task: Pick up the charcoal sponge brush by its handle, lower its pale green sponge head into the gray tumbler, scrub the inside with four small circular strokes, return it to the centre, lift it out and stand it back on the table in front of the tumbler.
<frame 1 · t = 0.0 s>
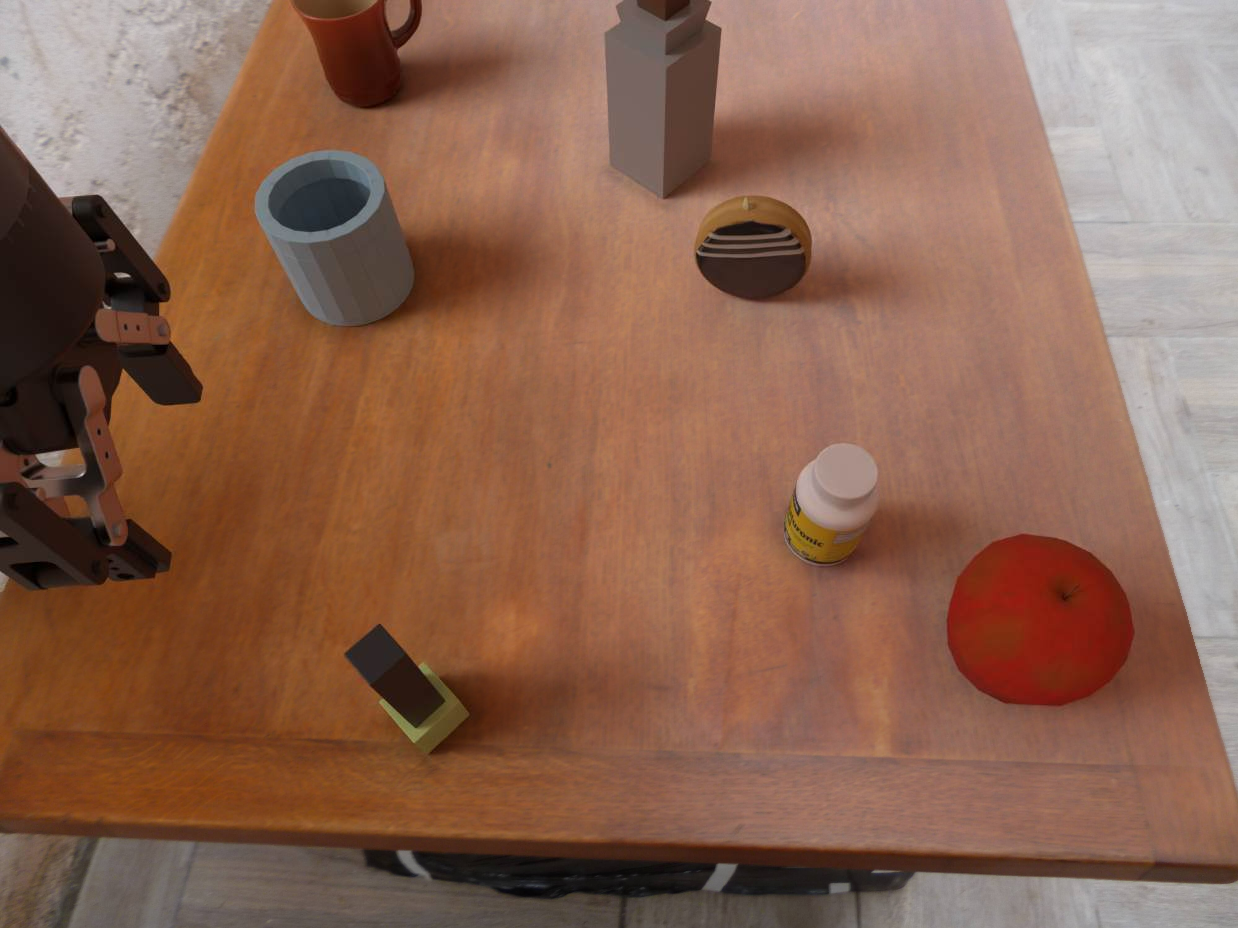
hand: (166, 478, 38), 24 cm above the table, tool pointing down, fingers open, 8 cm apart
mug: (383, 84, 88), on the table
supplement bottle: (818, 535, 62), on the table
perfume bottle: (660, 164, 81), on the table
doughnut: (746, 289, 73), on the table
brush: (431, 714, 56), on the table
gray tumbler: (357, 281, 75), on the table
apple: (1001, 648, 57), on the table
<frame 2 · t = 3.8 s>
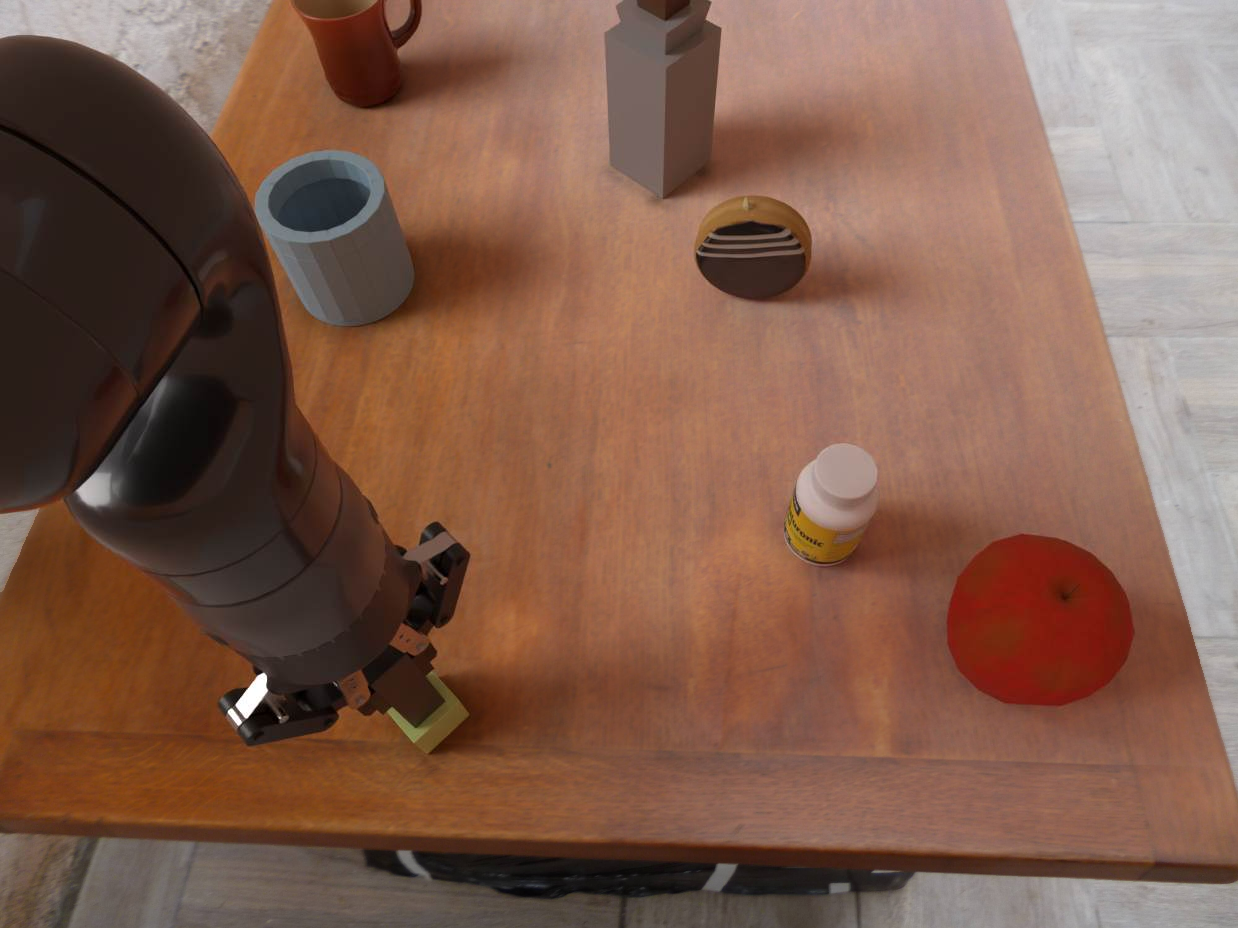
hand: (398, 679, 48), 9 cm above the table, tool pointing down, fingers closed on brush, 2 cm apart
brush: (431, 714, 56), on the table, touching gripper
everything else where it was.
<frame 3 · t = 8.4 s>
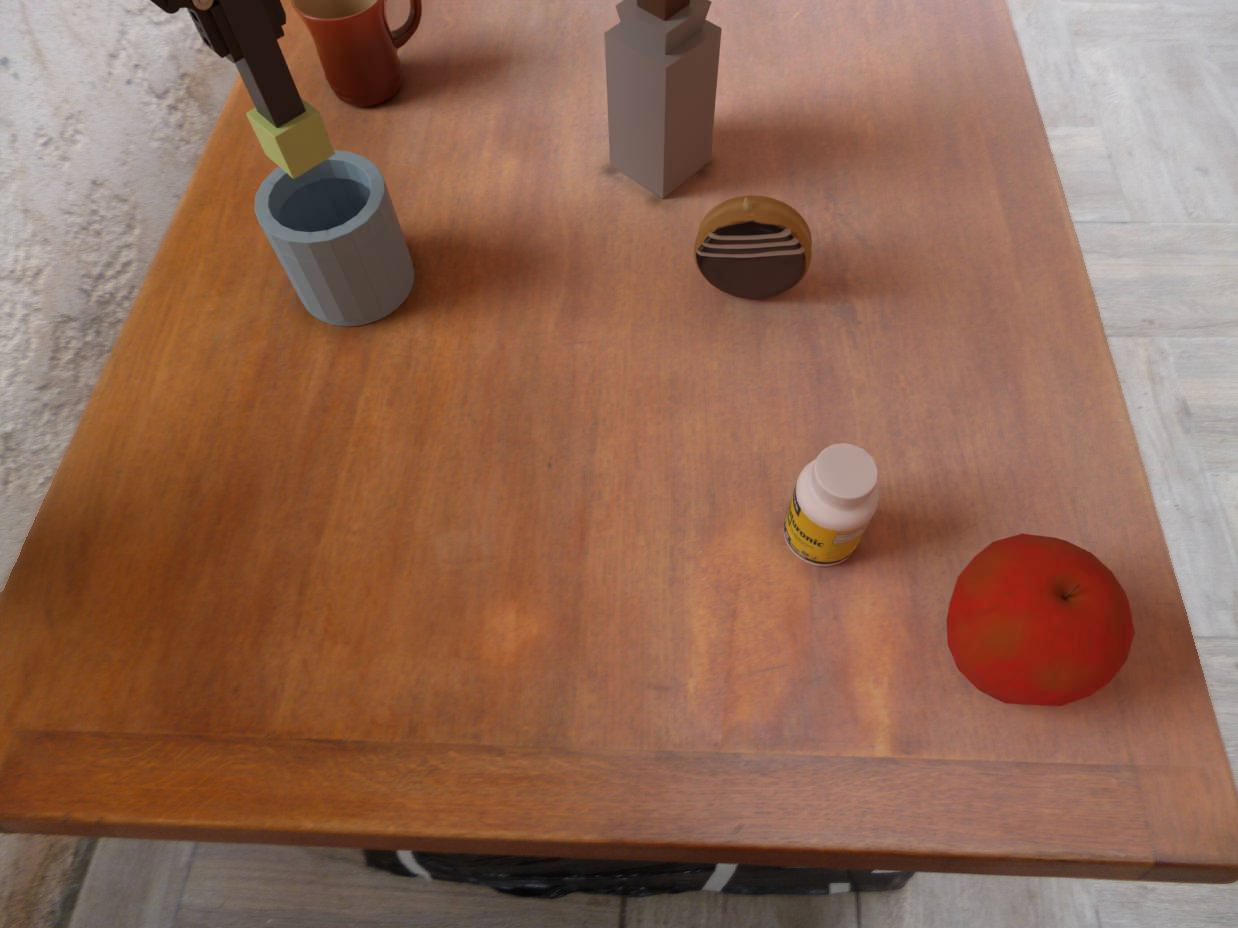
hand: (251, 43, 54), 23 cm above the table, tool pointing down, fingers closed on brush, 2 cm apart
brush: (300, 154, 61), point 15 cm above the table, touching gripper
everything else where it was.
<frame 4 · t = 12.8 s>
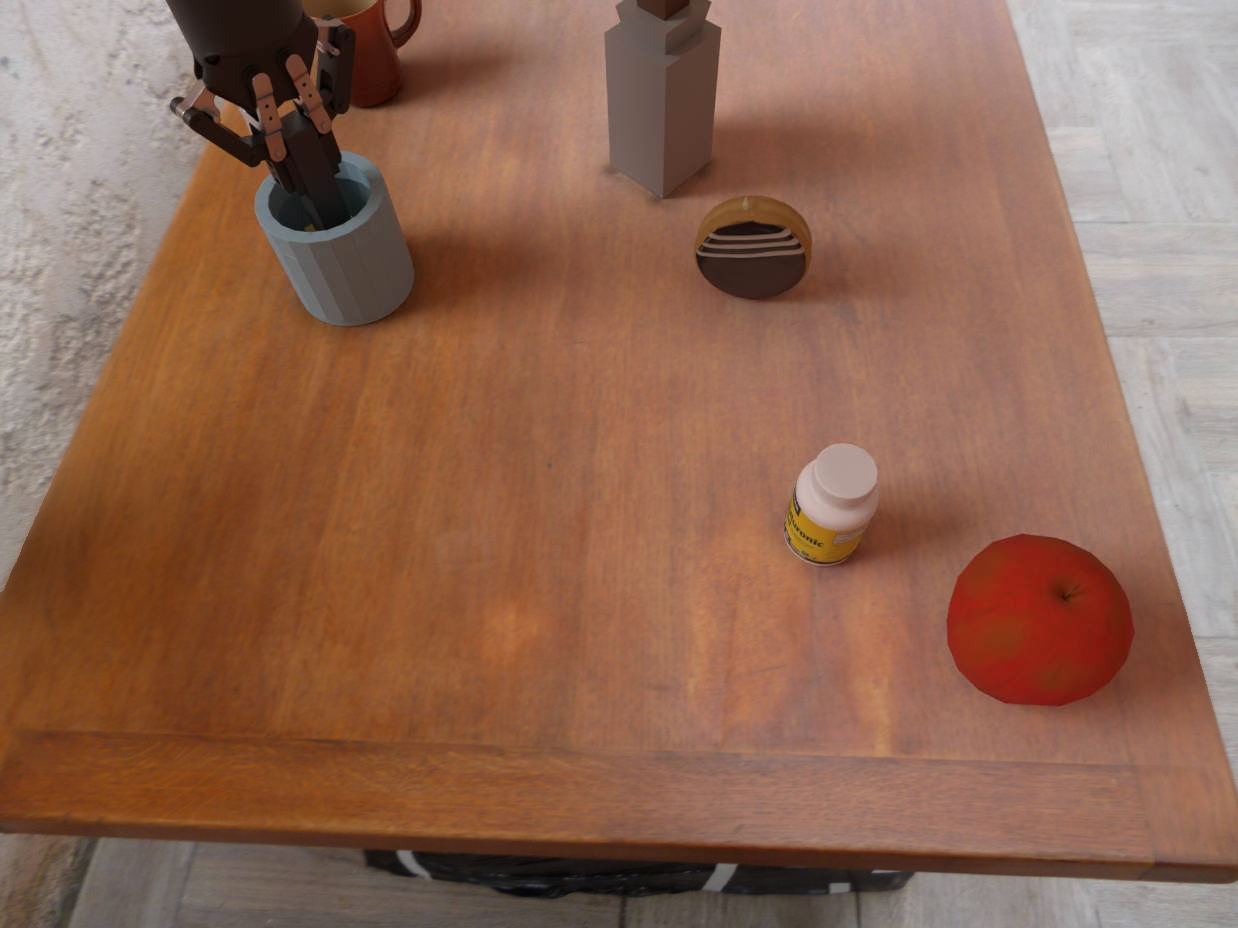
hand: (312, 179, 65), 12 cm above the table, tool pointing down, fingers closed on brush, 2 cm apart
brush: (348, 259, 72), point 3 cm above the table, touching gripper
everything else where it was.
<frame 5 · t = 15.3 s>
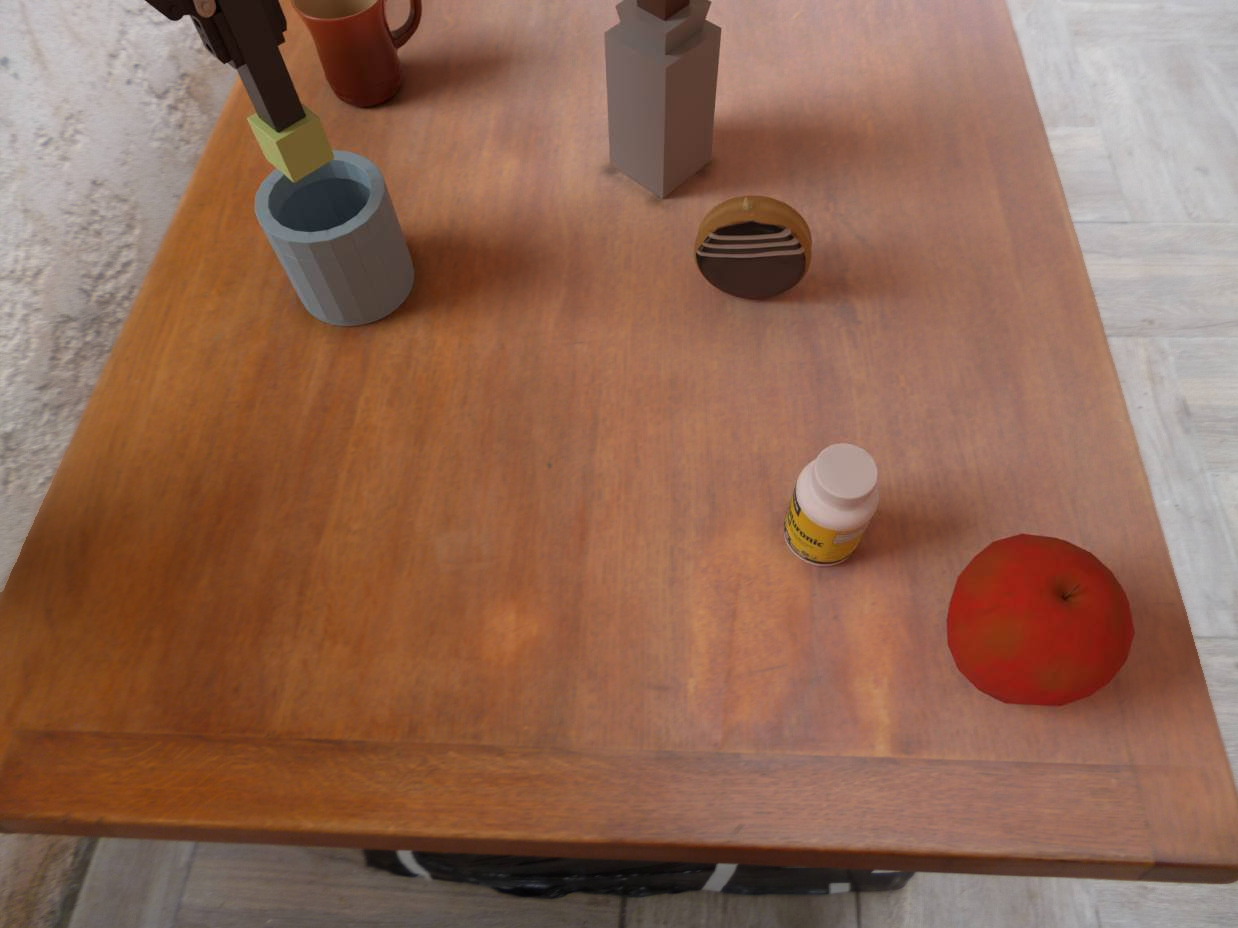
hand: (252, 50, 55), 23 cm above the table, tool pointing down, fingers closed on brush, 2 cm apart
brush: (300, 159, 62), point 14 cm above the table, touching gripper
everything else where it was.
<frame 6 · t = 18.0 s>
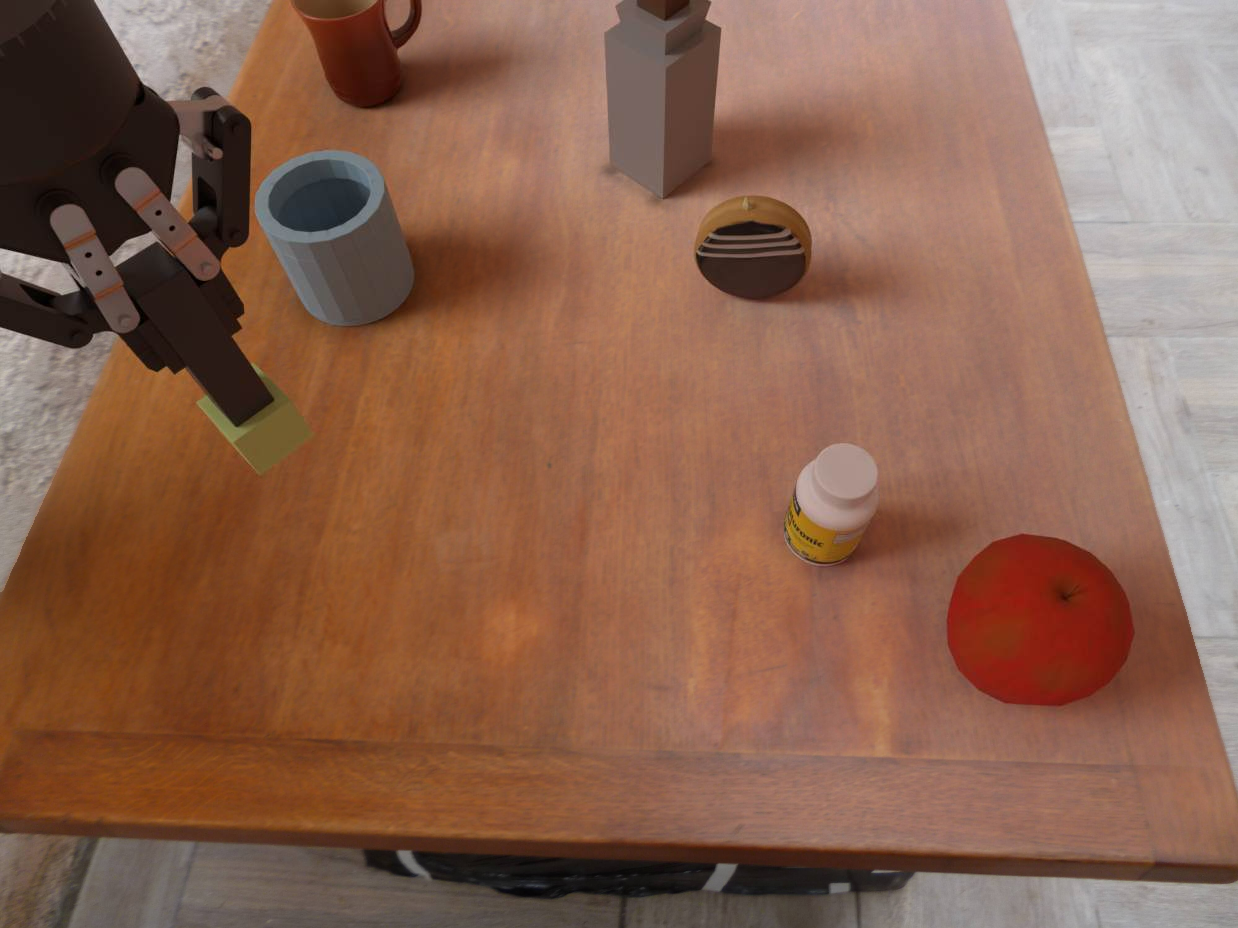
hand: (198, 341, 40), 25 cm above the table, tool pointing down, fingers closed on brush, 2 cm apart
brush: (269, 436, 48), point 16 cm above the table, touching gripper
everything else where it was.
when the fingers open (9 cm above the table, at t = 22.1 s): brush stays where it is, on the table.
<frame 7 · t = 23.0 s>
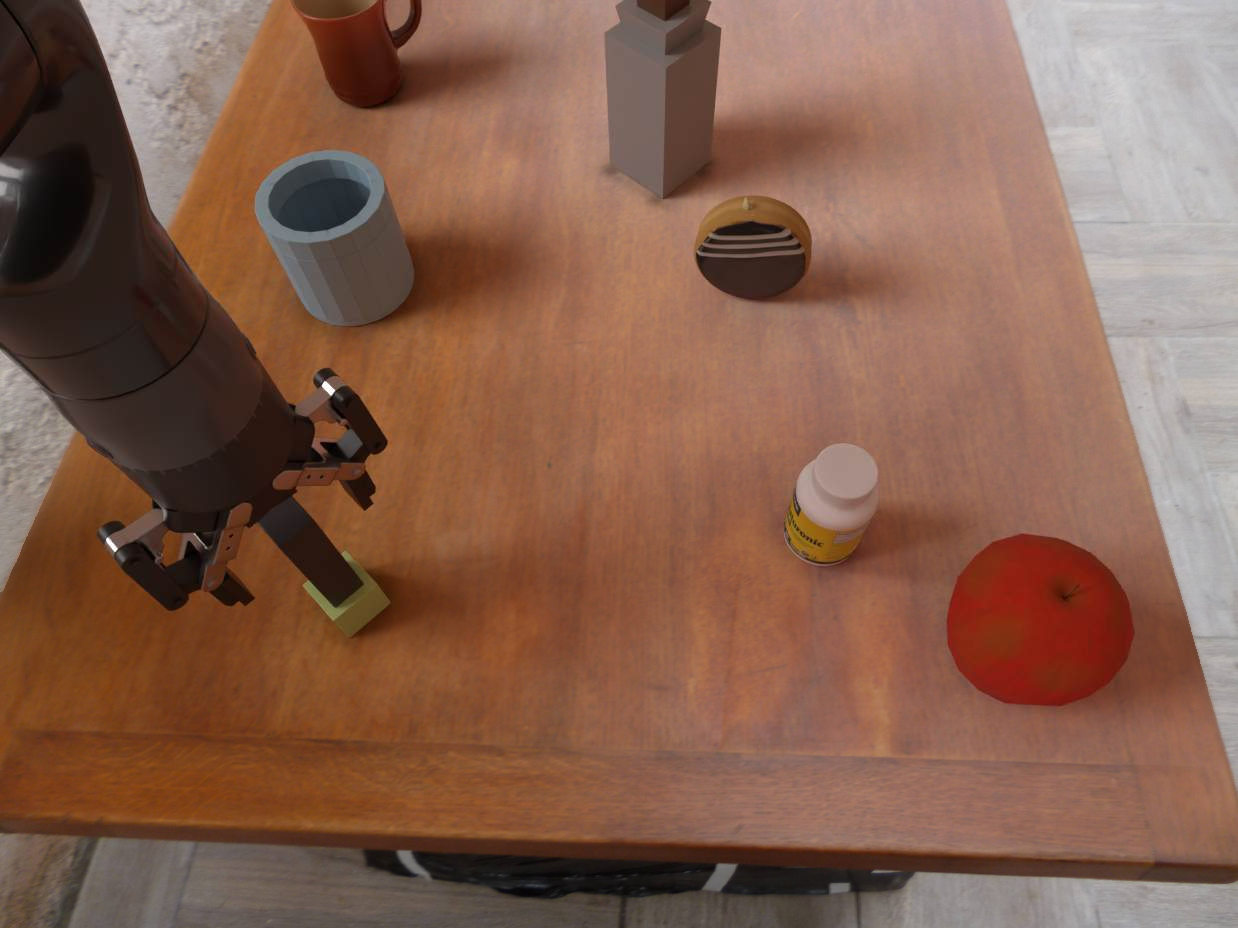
hand: (302, 544, 51), 10 cm above the table, tool pointing down, fingers open, 8 cm apart
brush: (355, 603, 60), on the table
everything else where it was.
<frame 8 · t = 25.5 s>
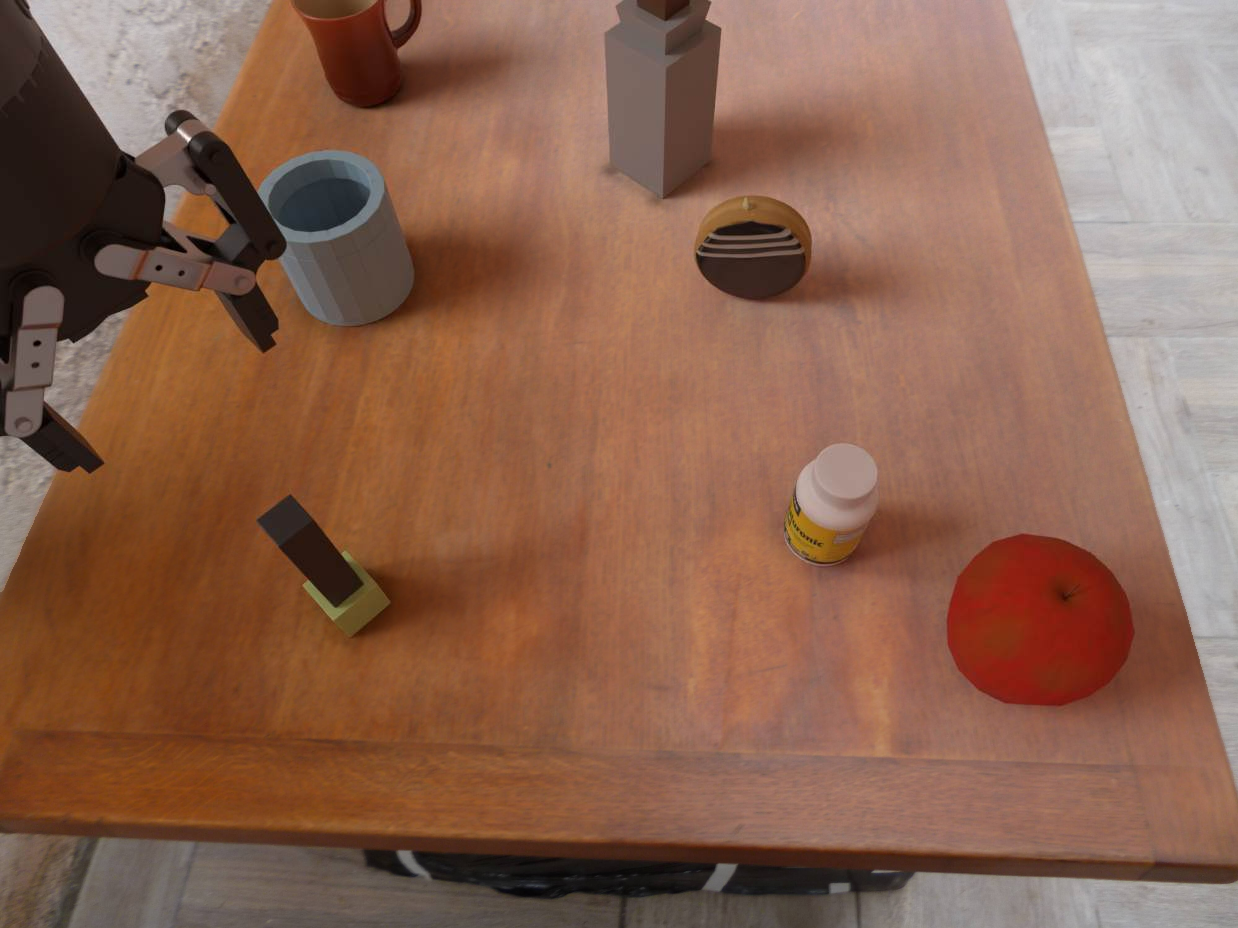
hand: (176, 396, 37), 26 cm above the table, tool pointing down, fingers open, 8 cm apart
nothing on the table moved.
at the end: brush tilted 0°; the gripper is holding nothing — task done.
